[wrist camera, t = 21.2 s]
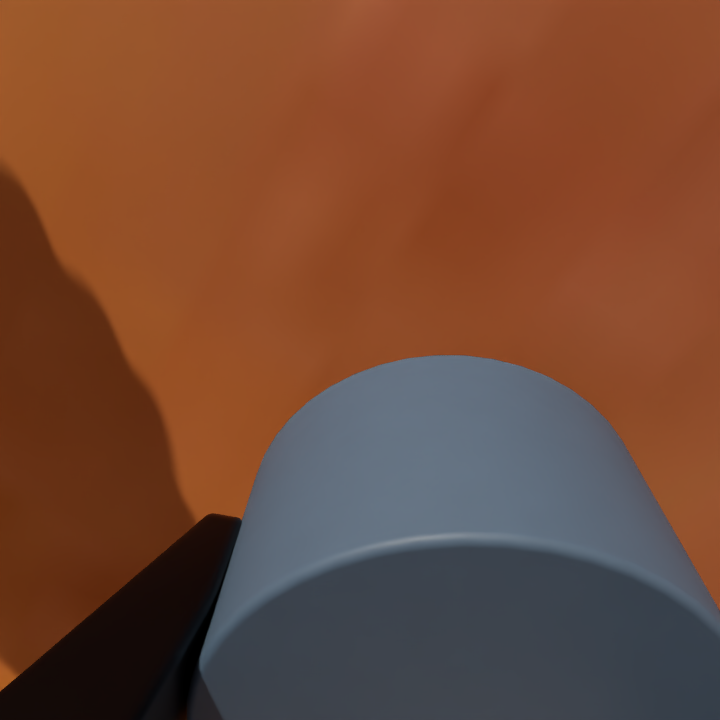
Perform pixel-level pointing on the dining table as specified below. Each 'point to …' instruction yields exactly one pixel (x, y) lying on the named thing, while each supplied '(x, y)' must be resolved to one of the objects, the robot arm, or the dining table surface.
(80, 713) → the robot arm
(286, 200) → the dining table surface
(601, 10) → the dining table surface
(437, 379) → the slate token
